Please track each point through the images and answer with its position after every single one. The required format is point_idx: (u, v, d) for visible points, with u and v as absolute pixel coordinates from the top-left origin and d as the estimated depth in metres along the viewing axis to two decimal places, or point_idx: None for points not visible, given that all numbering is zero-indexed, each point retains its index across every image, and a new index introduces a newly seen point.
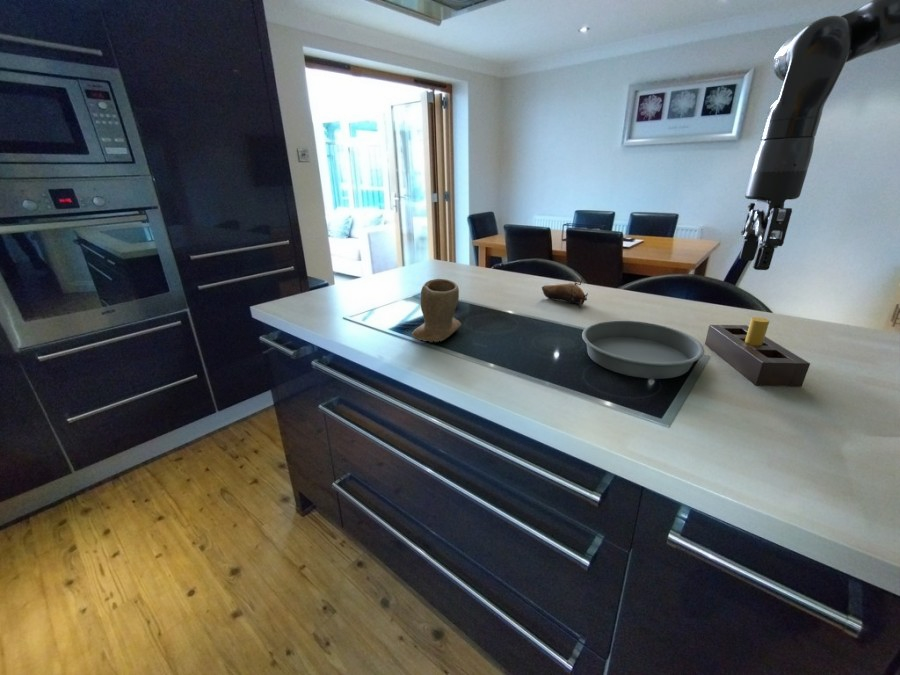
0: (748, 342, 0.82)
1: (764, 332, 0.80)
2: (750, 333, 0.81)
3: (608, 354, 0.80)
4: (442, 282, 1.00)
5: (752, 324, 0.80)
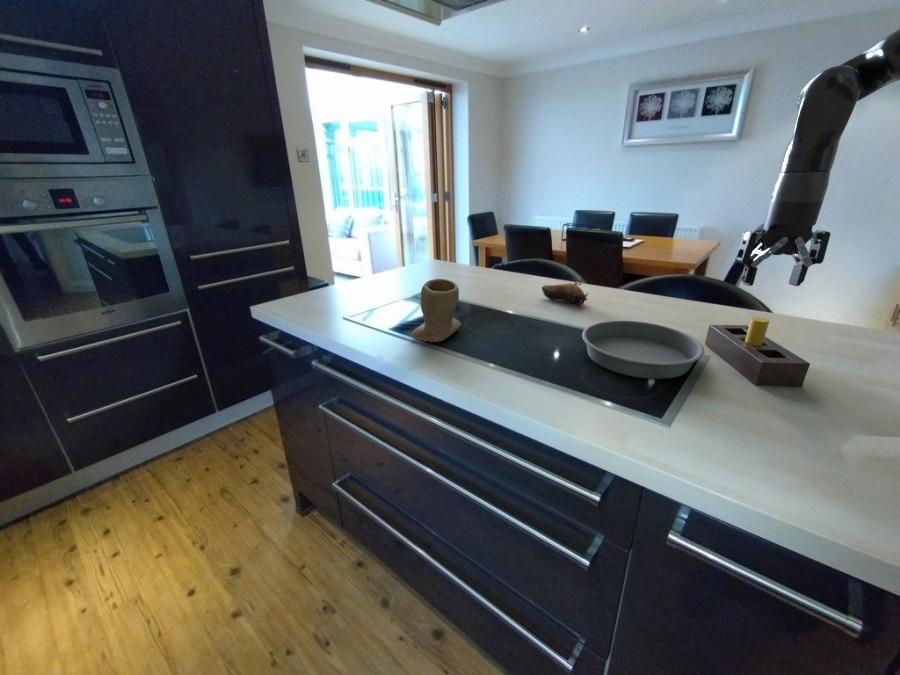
0: (748, 342, 0.82)
1: (764, 332, 0.80)
2: (750, 333, 0.81)
3: (608, 354, 0.80)
4: (442, 282, 1.00)
5: (752, 324, 0.80)
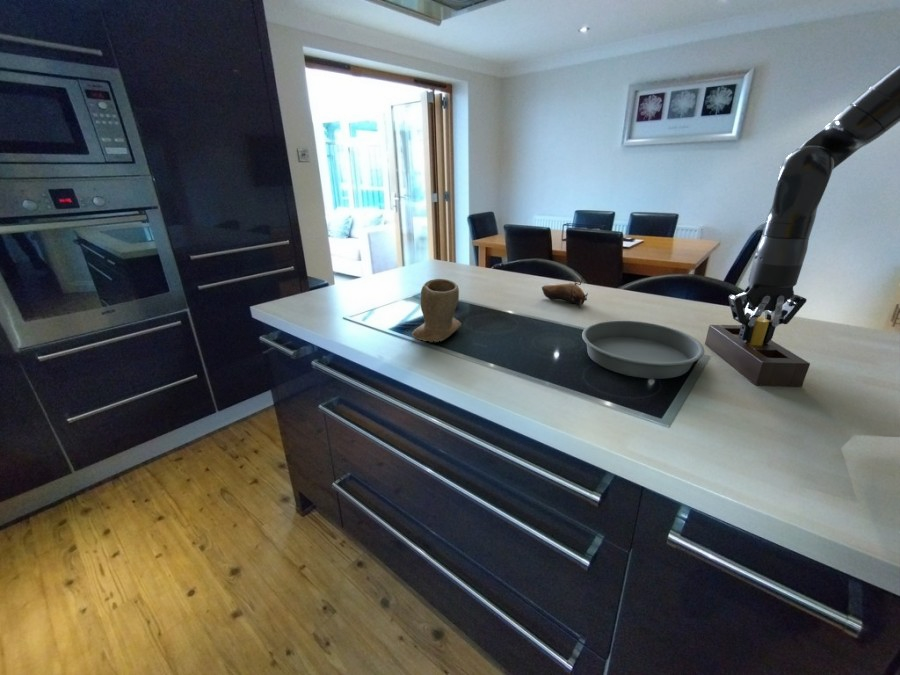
0: None
1: (764, 332, 0.80)
2: None
3: (608, 354, 0.80)
4: (442, 282, 1.00)
5: None
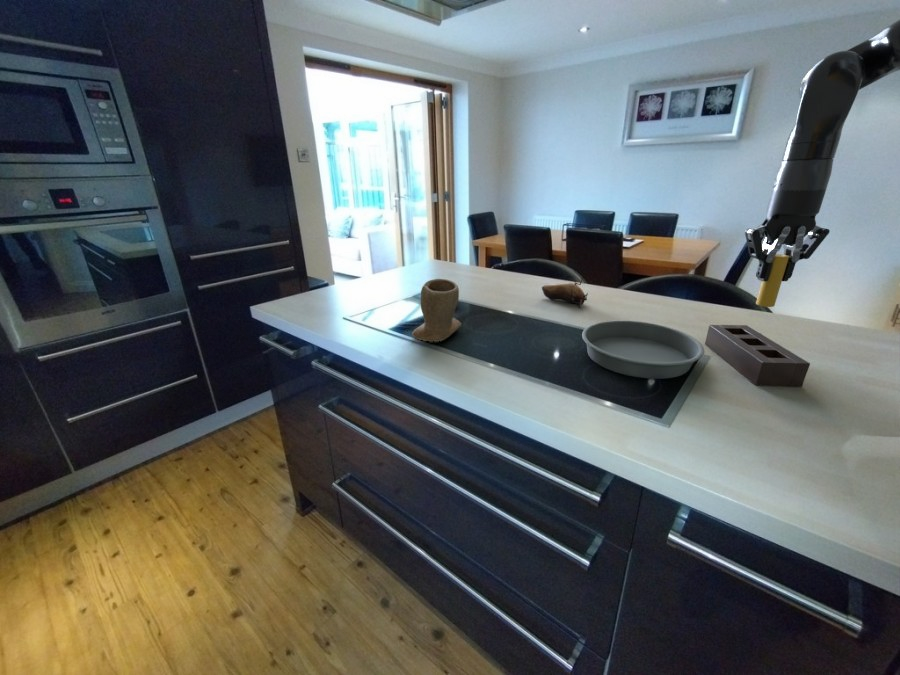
0: (766, 281, 0.77)
1: (783, 268, 0.75)
2: None
3: (608, 354, 0.80)
4: (442, 282, 1.00)
5: None
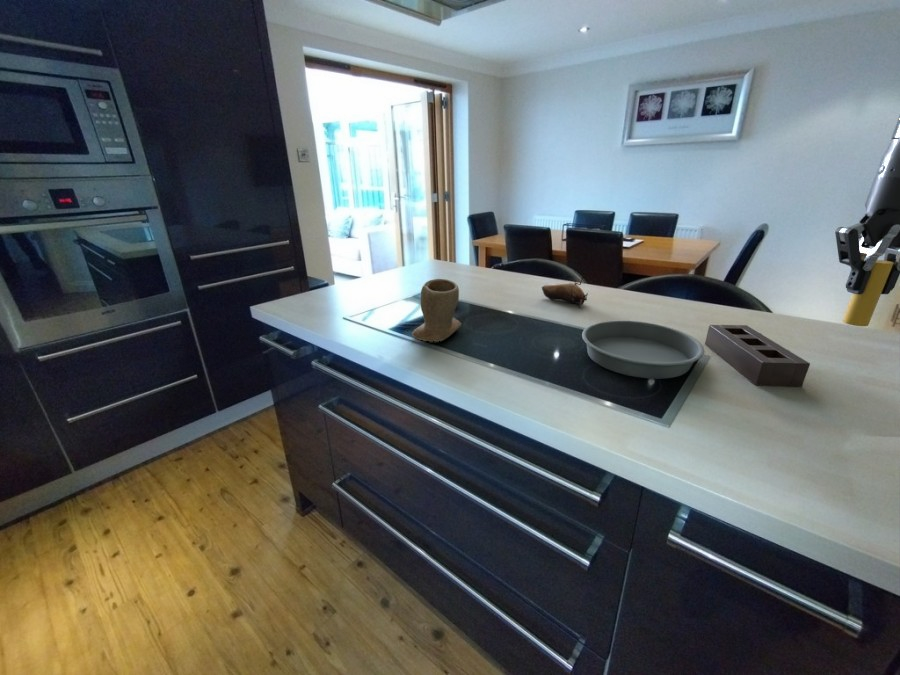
0: None
1: (885, 278, 0.58)
2: None
3: (608, 354, 0.80)
4: (442, 282, 1.00)
5: None
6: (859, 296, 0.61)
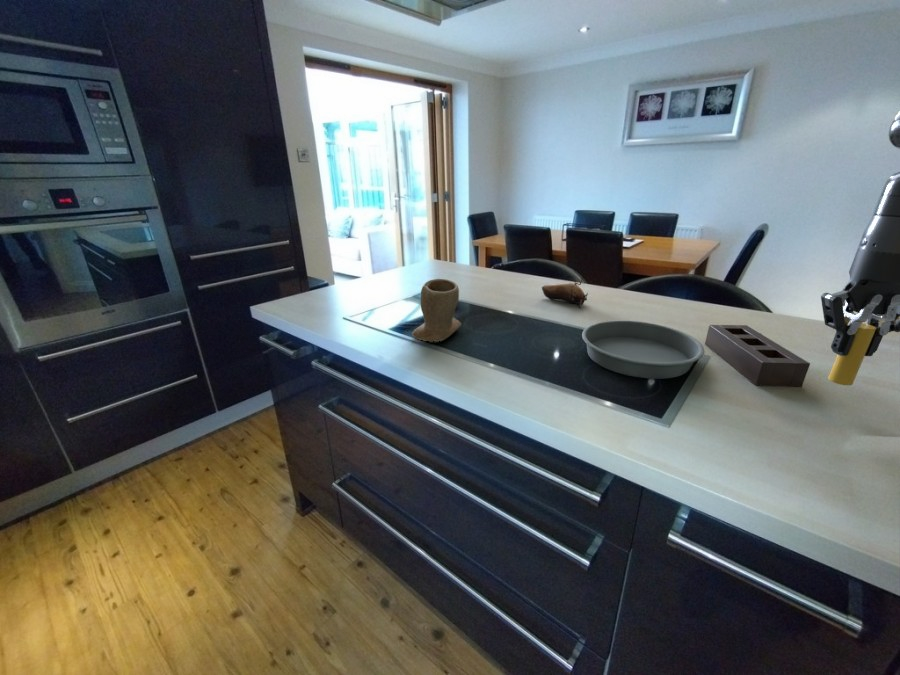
0: None
1: (868, 342, 0.61)
2: None
3: (608, 354, 0.80)
4: (442, 282, 1.00)
5: None
6: (844, 357, 0.63)
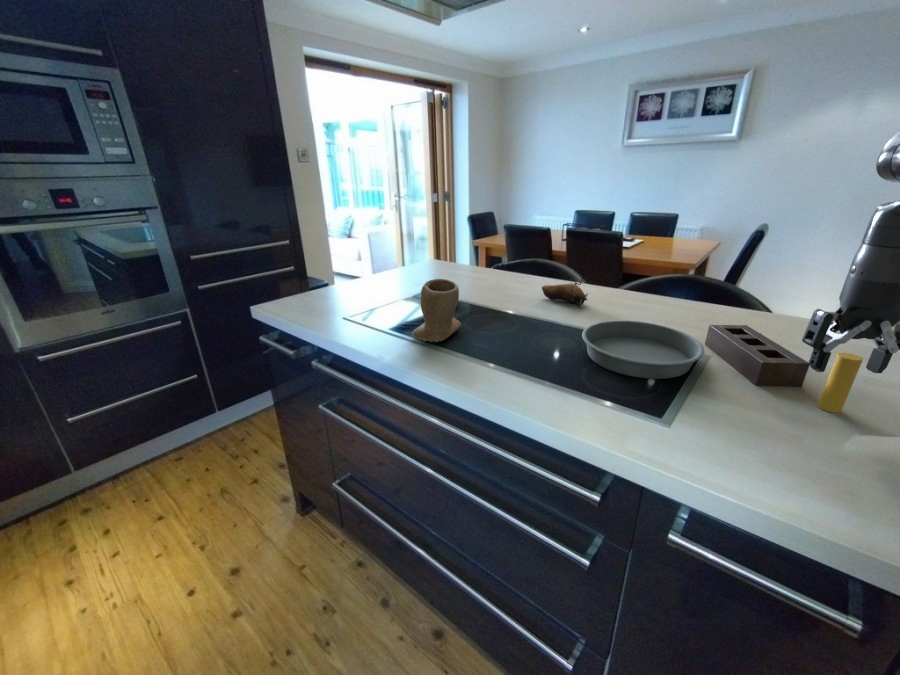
0: (833, 384, 0.65)
1: (856, 372, 0.63)
2: (836, 373, 0.65)
3: (608, 354, 0.80)
4: (442, 282, 1.00)
5: (840, 362, 0.64)
6: (832, 386, 0.65)
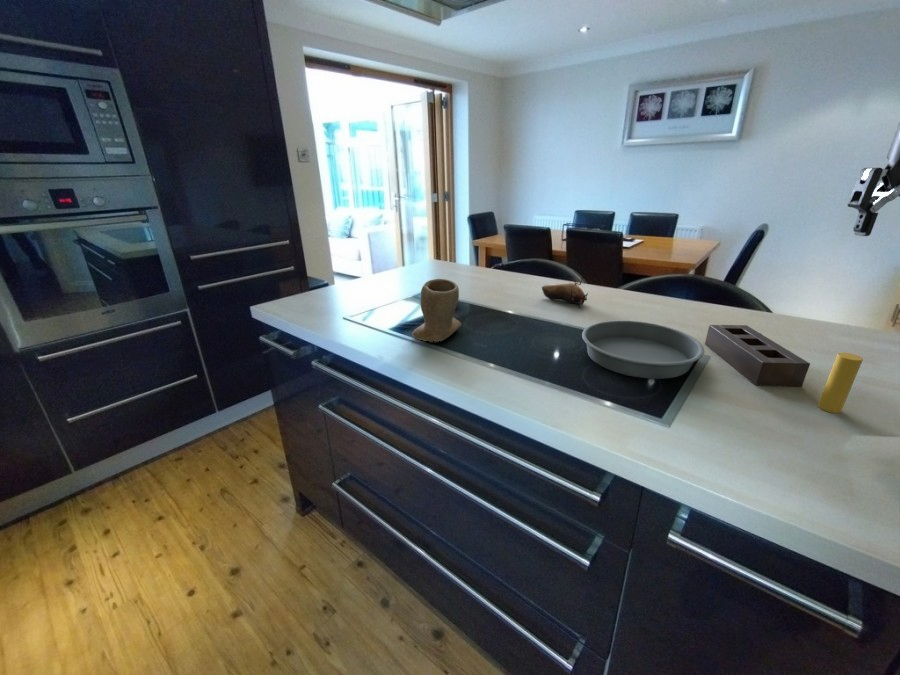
0: (833, 384, 0.65)
1: (856, 372, 0.63)
2: (836, 373, 0.65)
3: (608, 354, 0.80)
4: (442, 282, 1.00)
5: (840, 362, 0.64)
6: (832, 386, 0.65)
